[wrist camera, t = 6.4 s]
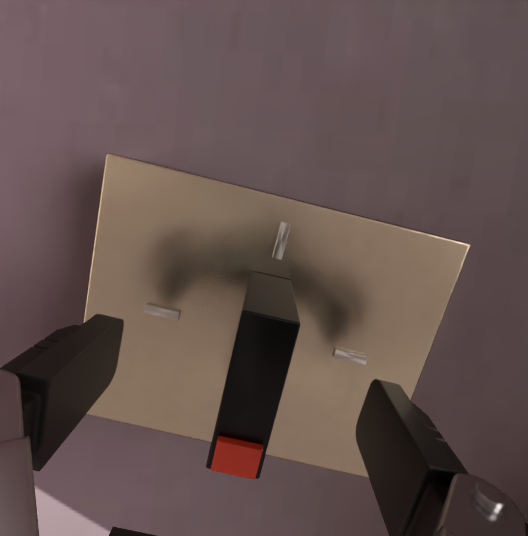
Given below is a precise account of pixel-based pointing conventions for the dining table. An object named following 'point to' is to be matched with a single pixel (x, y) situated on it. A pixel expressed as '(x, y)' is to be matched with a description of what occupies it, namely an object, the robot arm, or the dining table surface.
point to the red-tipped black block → (255, 377)
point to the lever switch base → (232, 298)
